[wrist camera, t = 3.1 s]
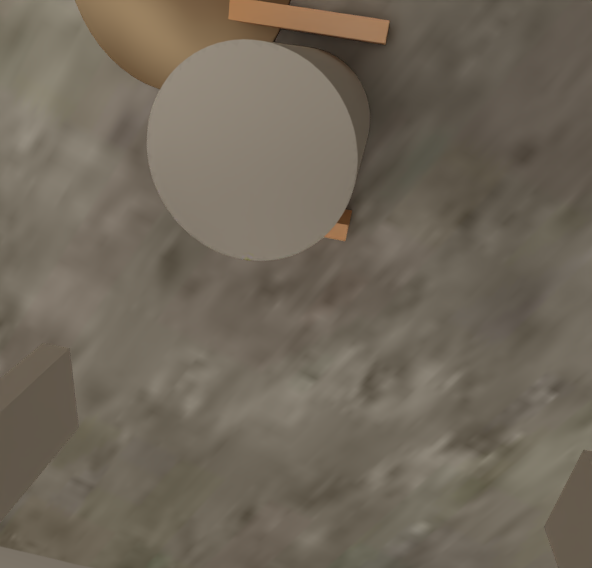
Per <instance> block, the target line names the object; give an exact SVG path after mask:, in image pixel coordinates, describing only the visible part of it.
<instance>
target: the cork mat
mask: <svg viewBox="0 0 592 568" xmlns="http://www.w3.org/2000/svg"><path fill="white" fill-rule="evenodd" d="M256 1H263V2H270V3H276V4H283V5H289V3H290V0H256ZM75 2H76V4H77V6H78V9H79V11H80V13H81V16H82V18H83V20H84V21H85V23H86V25H87V27H88V29H89V30H90V32H91V34H92V35H93V36H94V38H95V39H96V41H97V42H98V44H99V45H100V46H101V47H102V49H103V50H104V51H105V52H106V53H107V54H108V56H109V57H110V58H111V59H112V60H113V61H114V62H116V63H117V64H118V65H119V66H120V67H121V68H122V69H124V70H125V71H126V72H128V73H129V74H130V75H132V76H133V77H135V78H137V79H138V80H140V81H142V82H144V83H146V84H148V85H150V86H153V87H155V88H158V89H161V87H162V85H163V84H164V82H165V81H166V79H167V78H168V76H169V75H170V74H171V73H172V72H173V70H174V69H175V68H176V67H177V66H178V65H179V64H181V63H182V62H183V61H184V60H185V59H187V58H188V57H190V56H191V55H192V54H194V53H196V52H197V51H199V50H201V49H203V48H206V47H208V46H210V45H213V44H216V43H220V42H224V41H230V40H240V39H249V40H259V41H267V42H274V40H275V39H276V37H277V35H278V33H279V31H280V28H274V27H267V26H261V25H254V24H248V23H242V22H238V21H233V20H229V19H228V17H229V2H230V0H75Z"/></svg>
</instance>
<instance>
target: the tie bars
mask: <svg viewBox="0 0 592 568" xmlns="http://www.w3.org/2000/svg"><path fill="white" fill-rule="evenodd" d="M228 19H229V20H233V21H238V22H242V23H248V24H254V25H261V26H267V27H274V28H280V29H285V30H292V31H298V32H305V33H311V34H318V35H324V36H330V37H337V38H343V39H350V40H356V41H363V42H369V43H375V44H382V45H386V40H387V35H388V30H389V25H390V20H383V19H376V18H370V17H363V16H356V15H350V14H343V13H336V12H330V11H323V10H316V9H310V8H303V7H296V6H290V5H283V4H276V3H270V2H263V1H256V0H230V2H229V17H228ZM351 213H352V210H347V209H345V211H344V213H343V214H342V216H341V217H340V219H339V220H338V222H337V223H336V224H335V226H334V227H333V228H332V229H331V230H330V231H329V232H328V233H327V234H326V235H325V236H324V237H327V238H332V239H337V240H342V241H345V240H346V236H347V232H348V228H349V223H350V218H351Z"/></svg>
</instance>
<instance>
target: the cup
mask: <svg viewBox="0 0 592 568" xmlns="http://www.w3.org/2000/svg"><path fill="white" fill-rule="evenodd" d="M369 129H370V110H369V104H368V99H367V96H366V93H365V90H364V88H363V86H362V84H361V82H360V80H359V79H358V77H357V76H356V74H355V73H354V72H353V71H352V70H351V68H350V67H349V66H348V65H347V64H345V63H344V62H343V61H342V60H340V59H339V58H338V57H336V56H334V55H332V54H331V53H328V52H326V51H324V50H320V49H316V48H311V47H304V46H296V45H289V44H282V43H274V42H267V41H259V40H249V39H240V40H230V41H224V42H220V43H216V44H213V45H210V46H208V47H206V48H203V49H201V50H199V51H197V52H196V53H194V54H192V55H191V56H190V57H188V58H187V59H185V60H184V61H183V62H182V63H181V64H179V65H178V66H177V67H176V68H175V69H174V70H173V72H172V73H171V74H170V75H169V76H168V78H167V79H166V81H165V82H164V84H163V85H162V87H161V89H160V90H159V92H158V94H157V96H156V99H155V101H154V104H153V107H152V110H151V113H150V117H149V122H148V130H147V154H148V162H149V167H150V171H151V175H152V178H153V181H154V184H155V187H156V189H157V191H158V193H159V196H160V198H161V199H162V201H163V203H164V205H165V206H166V208H167V209H168V211H169V212H170V214H171V215H172V216H173V218H174V219H175V220H176V221H177V222H178V223H179V225H180V226H181V227H182V228H183V229H184V230H185V231H187V232H188V233H189V234H190V235H191V236H192V237H194V238H195V239H196V240H198V241H199V242H201V243H202V244H204V245H205V246H207V247H209V248H211V249H213V250H215V251H217V252H219V253H222V254H224V255H227V256H230V257H234V258H238V259H243V260H250V261H270V260H277V259H282V258H286V257H289V256H292V255H295V254H298V253H300V252H302V251H304V250H306V249H308V248H309V247H311V246H312V245H314V244H315V243H317V242H318V241H319V240H321V239H322V238H323V237H324V236H325V235H326V234H327V233H328V232H329V231H330V230H331V229H332V228H333V227H334V226H335V224H336V223H337V222H338V220H339V219H340V217H341V216H342V214H343V213H344V211H345V209H346V207H347V205H348V203H349V200H350V198H351V195H352V192H353V189H354V185H355V182H356V178H357V175H358V171H359V167H360V164H361V160H362V157H363V153H364V150H365V146H366V142H367V139H368V135H369Z"/></svg>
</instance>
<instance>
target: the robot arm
mask: <svg viewBox="0 0 592 568" xmlns="http://www.w3.org/2000/svg"><path fill="white" fill-rule="evenodd" d="M78 428H79V423H78V415H77V406H76V398H75V389H74V381H73V372H72V364H71V355H70V348H65V347H60V346H55V345H50V344H45V343H42V344H41V345H40V346H39V347H38V348H36V349H35V350H34V351H33V352H32V353H30V354H29V355H28V356H27V357H26V358H24V359H23V360H22V361H21V362H20V363H18V364H17V365H16V366H15V367H14V368H12V369H11V370H10V371H9V372H8V373H6V374H5V375H4V376H3V377H2V378H0V522H1V521H2V520H3V518H4V517H5V516H6V515H7V514H8V512H9V511H10V510H11V509H12V508H13V506H14V505H15V504H16V503H17V502H18V500H19V499H20V498H21V497H22V495H23V494H24V493H25V492H26V491H27V489H28V488H29V487H30V486H31V485H32V483H33V482H34V481H35V480H36V479H37V477H38V476H39V475H40V474H41V472H42V471H43V470H44V469H45V468H46V466H47V465H48V464H49V463H50V462H51V460H52V459H53V458H54V457H55V456H56V454H57V453H58V452H59V451H60V449H61V448H62V447H63V446H64V445H65V443H66V442H67V441H68V440H69V439H70V437H71V436H72V435H73V434H74V433H75V431H76V430H77V429H78ZM544 528H545V531H546V534H547V537H548V539H549V542H550V545H551V548H552V551H553V554H554V557H555V560H556V563H557V565H558V568H592V451H587V450H583V452H582V454H581V456H580V458H579V460H578V462H577V464H576V466H575V468H574V470H573V471H572V473H571V475H570V477H569V479H568V481H567V483H566V485H565V487H564V489H563V491H562V493H561V495H560V497H559V499H558V501H557V503H556V505H555V507H554V509H553V510H552V512H551V514H550V516H549V518H548V520H547V522H546V524H545V526H544Z"/></svg>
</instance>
